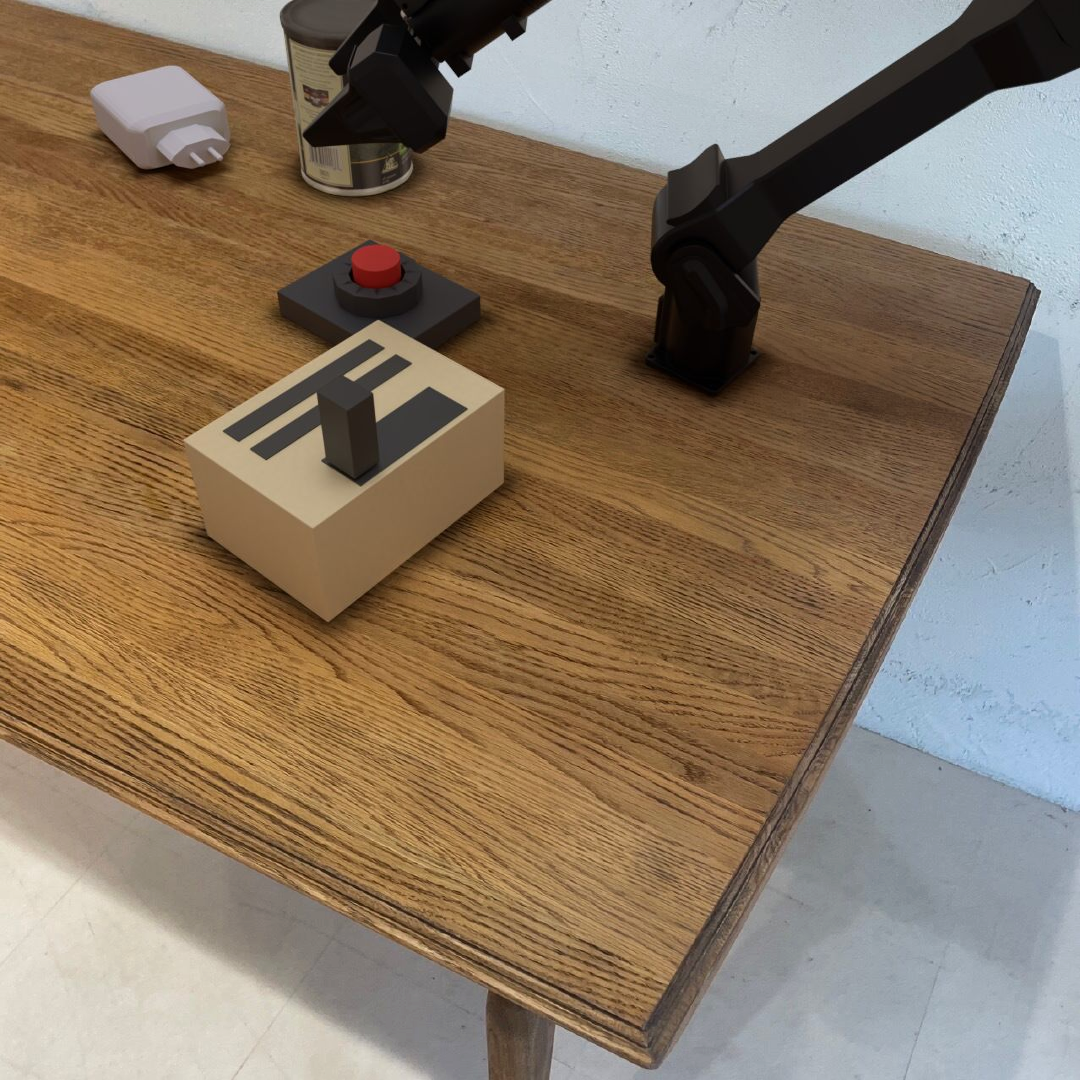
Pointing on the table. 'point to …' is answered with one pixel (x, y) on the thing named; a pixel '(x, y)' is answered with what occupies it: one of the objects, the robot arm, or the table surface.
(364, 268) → the button
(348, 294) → the control block
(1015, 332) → the table surface
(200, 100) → the charger
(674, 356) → the robot arm
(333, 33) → the coffee can
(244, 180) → the table surface
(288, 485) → the toaster
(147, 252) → the table surface
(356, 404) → the slider
